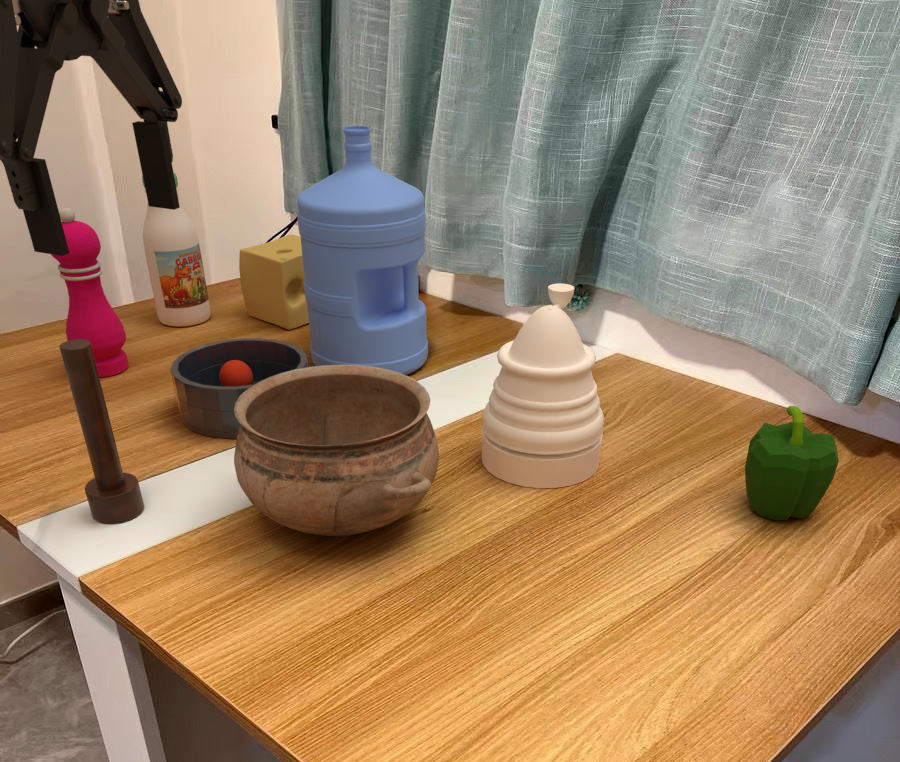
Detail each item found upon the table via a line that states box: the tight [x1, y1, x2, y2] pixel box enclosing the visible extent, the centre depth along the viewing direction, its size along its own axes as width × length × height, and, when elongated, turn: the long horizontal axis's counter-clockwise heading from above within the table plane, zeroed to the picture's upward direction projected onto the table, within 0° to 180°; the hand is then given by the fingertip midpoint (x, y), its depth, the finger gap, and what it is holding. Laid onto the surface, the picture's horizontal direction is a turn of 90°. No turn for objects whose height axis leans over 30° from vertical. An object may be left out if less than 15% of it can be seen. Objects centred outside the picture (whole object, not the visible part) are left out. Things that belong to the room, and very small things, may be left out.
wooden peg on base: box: [59, 339, 145, 525], centre depth 83 cm, size 5×5×17 cm
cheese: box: [238, 234, 309, 331], centre depth 131 cm, size 10×11×10 cm
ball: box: [219, 360, 253, 387], centre depth 108 cm, size 4×4×4 cm
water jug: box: [296, 125, 429, 376], centre depth 111 cm, size 16×16×28 cm
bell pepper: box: [744, 405, 840, 521], centre depth 85 cm, size 8×8×10 cm
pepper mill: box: [50, 207, 130, 379], centre depth 111 cm, size 7×7×20 cm
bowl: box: [170, 337, 309, 440], centre depth 105 cm, size 16×16×6 cm
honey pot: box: [481, 283, 605, 489], centre depth 91 cm, size 13×13×18 cm
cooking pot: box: [233, 365, 440, 538], centre depth 83 cm, size 25×19×12 cm
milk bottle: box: [141, 171, 212, 327], centre depth 127 cm, size 8×8×20 cm
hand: (112, 228), depth 72 cm, fingers open, 13 cm apart
